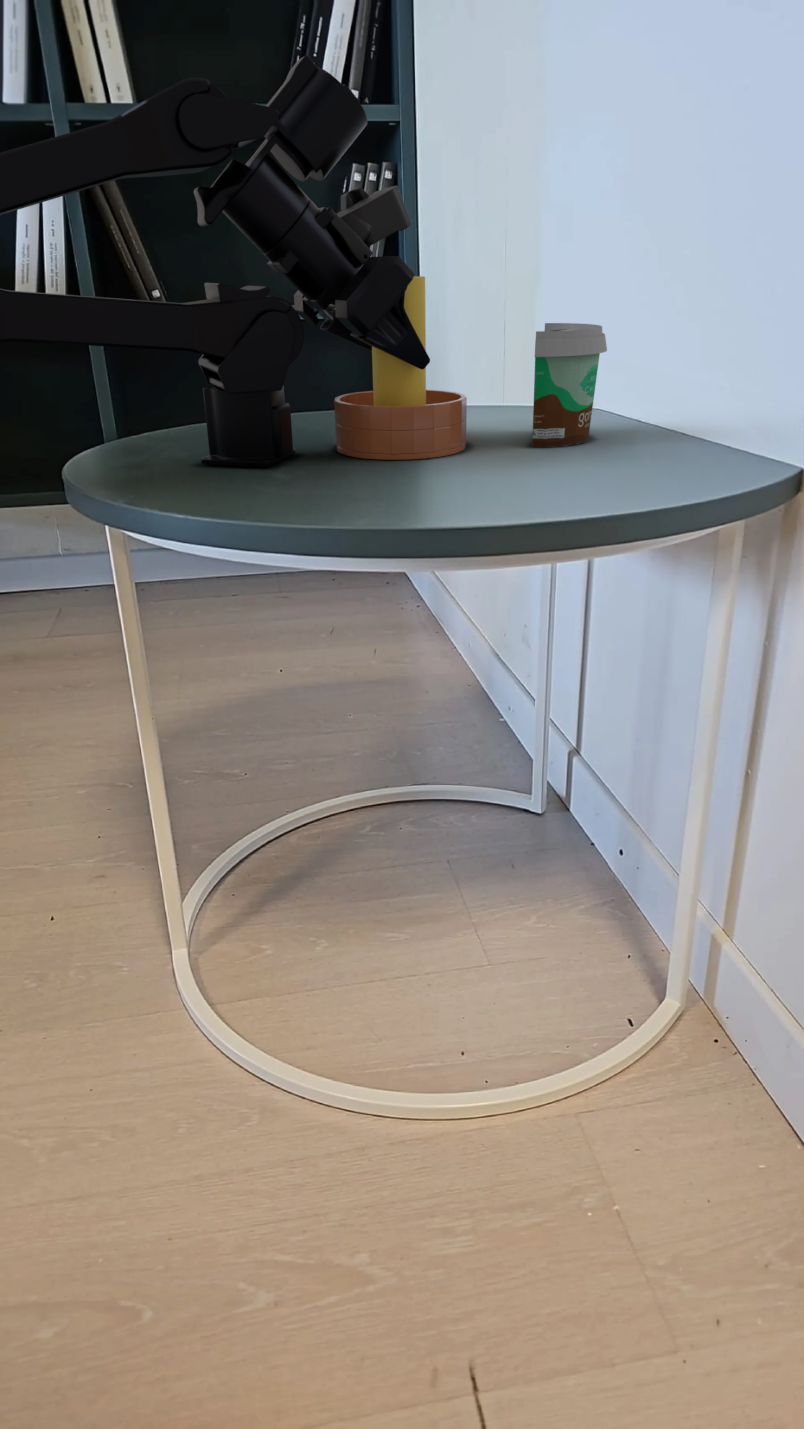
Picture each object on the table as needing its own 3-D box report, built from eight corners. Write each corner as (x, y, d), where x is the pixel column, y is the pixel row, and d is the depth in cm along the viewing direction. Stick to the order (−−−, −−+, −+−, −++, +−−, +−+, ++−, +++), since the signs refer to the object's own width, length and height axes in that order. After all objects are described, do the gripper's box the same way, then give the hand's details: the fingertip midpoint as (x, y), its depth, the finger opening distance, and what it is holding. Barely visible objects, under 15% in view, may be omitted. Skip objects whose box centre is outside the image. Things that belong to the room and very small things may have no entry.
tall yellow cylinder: (396, 448, 86) (392, 277, 80) (364, 442, 90) (358, 277, 84) (436, 442, 89) (436, 276, 83) (404, 436, 92) (401, 276, 86)
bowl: (317, 457, 86) (314, 405, 84) (361, 435, 96) (359, 388, 94) (447, 462, 83) (447, 408, 81) (478, 438, 93) (478, 390, 91)
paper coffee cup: (599, 451, 86) (608, 331, 82) (530, 449, 87) (535, 331, 83) (602, 428, 97) (609, 322, 93) (540, 428, 98) (545, 322, 94)
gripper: (386, 133, 70) (518, 294, 78) (320, 158, 86) (435, 289, 94) (287, 255, 71) (428, 401, 79) (241, 257, 87) (361, 378, 95)
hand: (414, 362), depth 87 cm, fingers open, 6 cm apart
